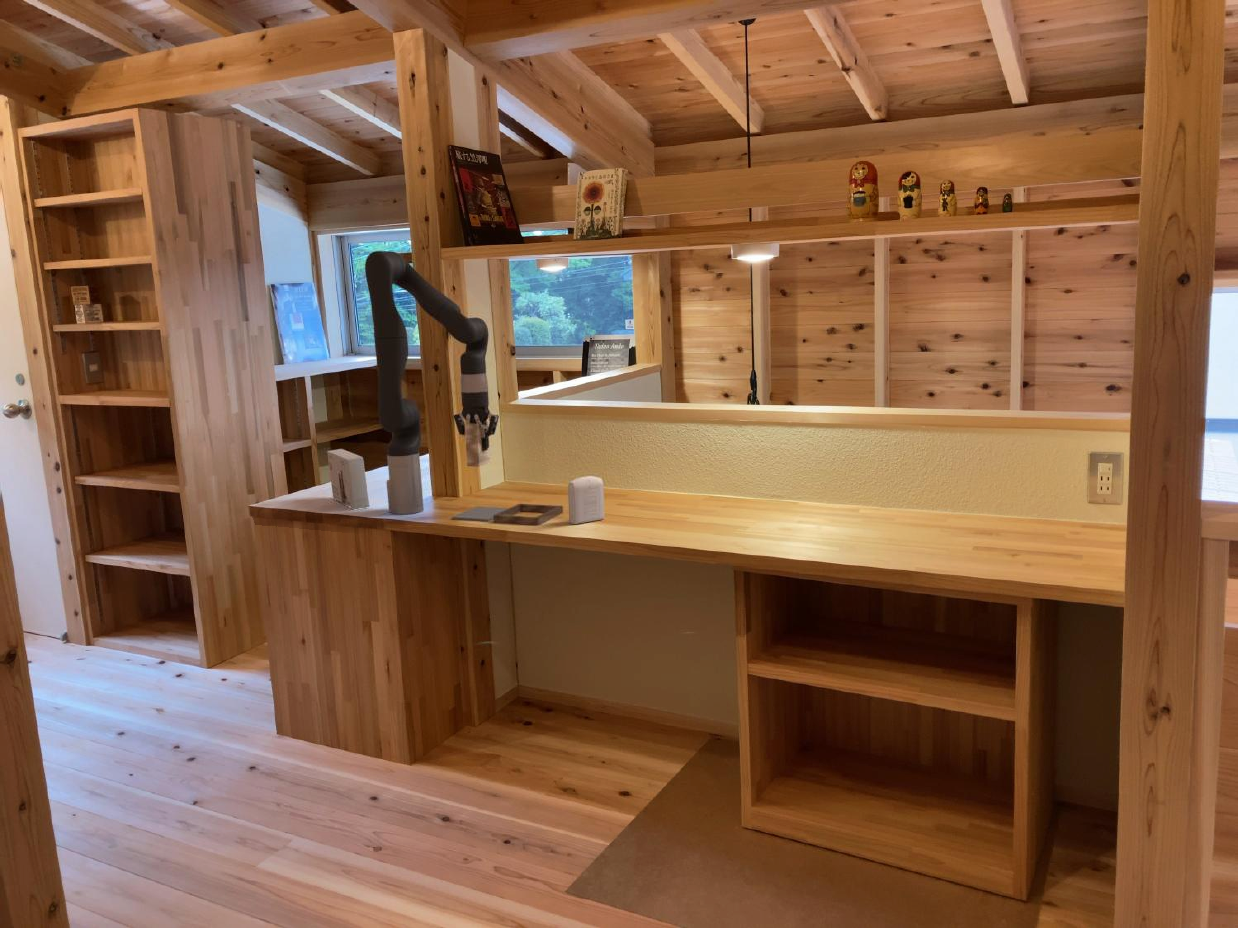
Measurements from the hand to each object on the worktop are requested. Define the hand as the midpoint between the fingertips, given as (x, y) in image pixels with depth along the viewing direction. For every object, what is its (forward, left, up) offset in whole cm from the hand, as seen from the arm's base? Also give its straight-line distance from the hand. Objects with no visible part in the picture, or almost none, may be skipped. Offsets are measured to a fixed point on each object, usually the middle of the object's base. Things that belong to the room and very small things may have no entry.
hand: (477, 449), depth 272 cm
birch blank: (0, 0, -4) cm, 4 cm away
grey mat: (0, 0, -19) cm, 19 cm away
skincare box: (-50, +4, -19) cm, 54 cm away
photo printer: (+33, 0, -19) cm, 38 cm away
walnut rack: (+15, 0, -19) cm, 24 cm away
